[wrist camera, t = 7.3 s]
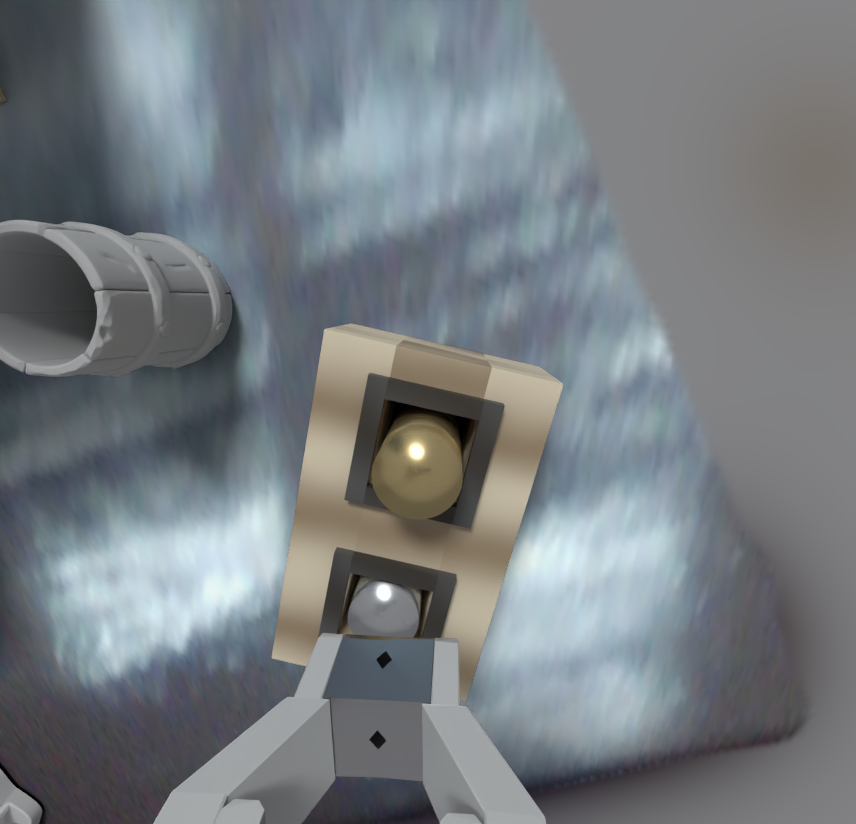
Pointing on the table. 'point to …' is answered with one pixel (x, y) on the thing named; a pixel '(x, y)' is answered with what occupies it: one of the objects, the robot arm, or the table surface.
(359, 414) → the socket block
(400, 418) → the peg
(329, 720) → the robot arm
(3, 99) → the planter
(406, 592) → the peg
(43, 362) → the mug
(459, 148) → the table surface
